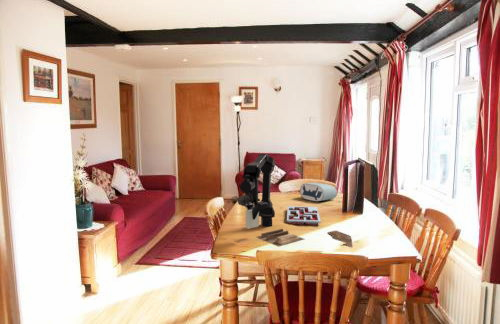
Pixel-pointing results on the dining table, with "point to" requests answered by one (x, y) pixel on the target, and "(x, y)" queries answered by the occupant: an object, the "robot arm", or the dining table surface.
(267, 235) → the walnut rack
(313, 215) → the maze game
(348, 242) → the wooden fragment
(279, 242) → the lower oak offcut
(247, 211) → the taupe rectangular block
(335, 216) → the dining table surface
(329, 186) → the grey rounded oval block
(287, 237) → the upper oak offcut
